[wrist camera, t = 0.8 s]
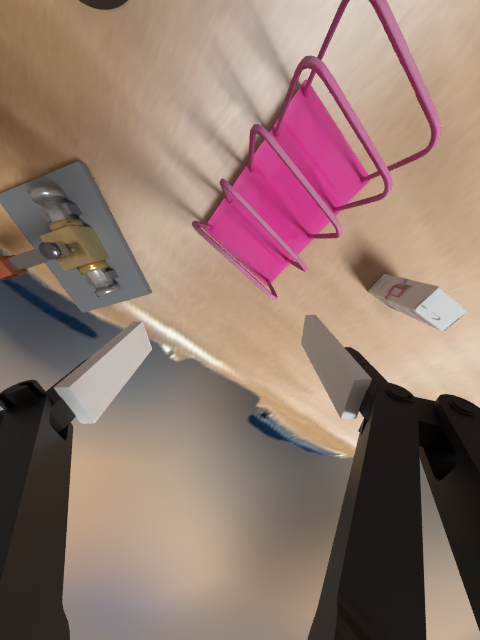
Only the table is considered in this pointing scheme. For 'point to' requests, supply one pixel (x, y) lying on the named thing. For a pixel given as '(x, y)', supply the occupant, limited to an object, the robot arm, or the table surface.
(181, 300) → the table surface
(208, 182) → the table surface
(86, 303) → the mounting board
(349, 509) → the robot arm
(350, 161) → the file sorter
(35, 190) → the valve pipe
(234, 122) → the table surface
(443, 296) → the ink box
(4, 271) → the valve lever
